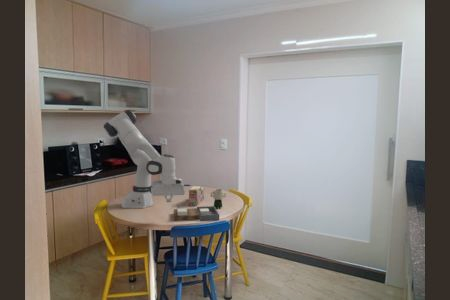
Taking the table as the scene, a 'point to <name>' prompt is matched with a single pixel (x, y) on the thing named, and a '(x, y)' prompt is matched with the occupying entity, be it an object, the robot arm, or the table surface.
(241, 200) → the table surface
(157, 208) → the table surface
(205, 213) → the tile
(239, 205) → the table surface
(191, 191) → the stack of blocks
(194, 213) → the board
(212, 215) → the box
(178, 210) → the tile
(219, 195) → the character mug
